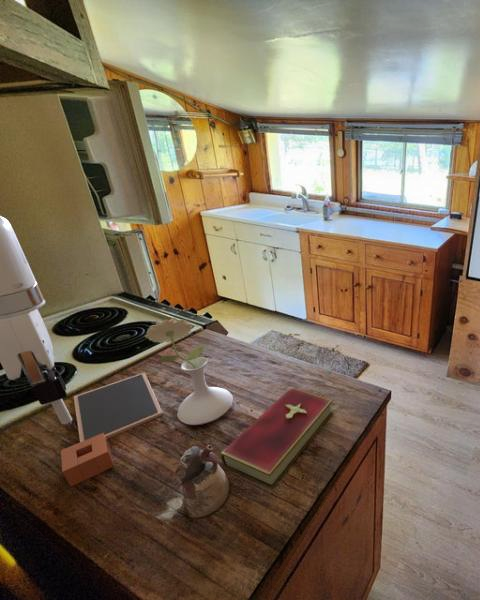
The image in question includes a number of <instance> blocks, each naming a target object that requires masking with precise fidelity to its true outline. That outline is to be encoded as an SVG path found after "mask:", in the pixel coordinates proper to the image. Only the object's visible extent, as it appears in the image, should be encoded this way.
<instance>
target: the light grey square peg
mask: <svg viewBox="0 0 480 600" xmlns="http://www.w3.org/2000/svg"><path fill="white" fill-rule="evenodd" d="M43 372H47V371H46V370H45V371H42V373H43ZM50 405H51V406H52V408H53V410H54V413H55V414H56V416H57V417H58V420H59V422H60V424H61V425H64V426H65V427H69V426H71V425H72V424H73V423H72V421H73V417H72V416H71V414H70V412H69V410H68V408H67V405H66V403H65V401H64V399H63V398H62V399H59V400H56V401H53V402H50Z"/></svg>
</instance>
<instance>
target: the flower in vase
mask: <svg viewBox="0 0 480 600" xmlns="http://www.w3.org/2000/svg"><path fill="white" fill-rule="evenodd" d="M192 329H193V326H192V324H190V323H189V321H188V320H185V319H178V320H177V318H176V317H173V318H171V319H164V320H163V321H161V320H158V321H156V322H155V324H151V325H150V326H149V328H147V330H146V334H144V338H146V339H148V341H152V343H158V344H163V343H165V342H166V343H172V347H173V350H174V352H175V354H168V355H163V356H161V357H160V358H159V359H158V360H157V361H156V362H155V364H162V363H172V362H175V361H176V360H177V359H178V358H180V359H182V360H183V362H182V363H181V365H180V368H181V370H183V371H185V372H187V373H188V374H189V376H190V378H191V379H192V382H193V385H194V390H193V392H192V393H191V394H189V395H188V396H187V397H186V398H184V399H183V401H182V402H181V403H180V404H179V406H178V409H177V413H176V414H177V419H178V420H179V421H180V422H181V423H184V424H186V425H190V426H201V425H205V424H208V423H211V422H214V421H216V420H218V419H220V417H222V416H224V415H225V414H226V413H228V411H229V410H230V408H231V407H232V405H233V403H234V397H233V394H232V393H231V392H230V391H229V390H228V389H226V388H222V387H218V386H209V385H208V383H207V381H206V378H205V377H206V376H205V367H206V365H207V364H208V358H207V357H206V356H205V357H204V356H201V354H202V353H203V352H204V348H205V345H201V346H199V347H196V348H194V349H192V350H191V351H190V353H189V354H188V357H187V358H185V357H184V356H182V355H180V354H179V352H178V351H177V349H176V345H175V342H176V341H178V340H180V339H183V338H184V337H186V336H190V332H191V331H192Z"/></svg>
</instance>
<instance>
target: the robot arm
mask: <svg viewBox="0 0 480 600" xmlns="http://www.w3.org/2000/svg"><path fill="white" fill-rule="evenodd" d="M30 266H31V265H30V264H29V262H28V259H27V257H26V255H25V253H24V251H23V248H22V246H21V244H20V242H19V240H18V237H17V235H16V232H15V231H14V228H13V226H12V224H11V222H9V220H8V219H6V218H5V217H3V216H2V215H0V365H1V367H2V369H3V371H4V373H5V375H6V378H7V379H8V380H10V381H16V380H17V379H20V378H21V374H22V371H23V373H24V375H25V376H26V378H27V381H28V382H29V384H30V387H31V389H32V391H33V393H34V394H35V397H36V398H37V401H38V402H39V404H40V406H41V405H42V406H44V405H47V404H51V402H53V401H56V400H59V399H62V400H63V399H65V398H67V397H68V393H67V391H66V390H67V386H66V384H65V381H64V380H63V378H62V376H61V373H60V371H59V370H57V369H56V366H55V356H54V355H55V354H54V347H53V343H52V339H51V337H50V335H49V332H48V328H47V327H46V324H45V321H44V320H43V318H42V315H41V313H40V311H39V309H40V308H42V307H43V306H45V305H46V299H45V297H44V295H43V293H42V291H41V288H40V286H39V284H38V282H37V280H36V277H35V276H34V273H33V271H32V268H31V267H30ZM45 370H46V371H47V372H43V373H42V371H45Z"/></svg>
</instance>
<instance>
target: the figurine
mask: <svg viewBox="0 0 480 600" xmlns="http://www.w3.org/2000/svg"><path fill="white" fill-rule="evenodd" d="M213 449H214V448H213V446H212V445H211V444H208V445H206V447H205V448H204V449H202V448H200V447H199V446H196V445H194V446H191V447H190V448H189V449H186V451H184V453H183V455H182V456H181V457H180V460H179V462H178V467H177V468H176V470H175V474H177V475H179V483H178V484H179V486H182V494H183V497H182V502H183V506H184V508H185V512H186V513H187V515H188V516H189V517H191V518H193V519H194V518H196V519H197V518H203V517H207V516H208V515H210V514H212V513H214V512H216V511H217V510H218V509H219V508H221V507H222V505H224V503H225V502H226V501H227V498H228V497H229V493H230V481H229V478H228V476H227V474H226V472H225V471H224V470H223V468H222V467H221V466H220V465H219V459H218V456H217V454H216V453H215V452H213Z"/></svg>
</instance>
